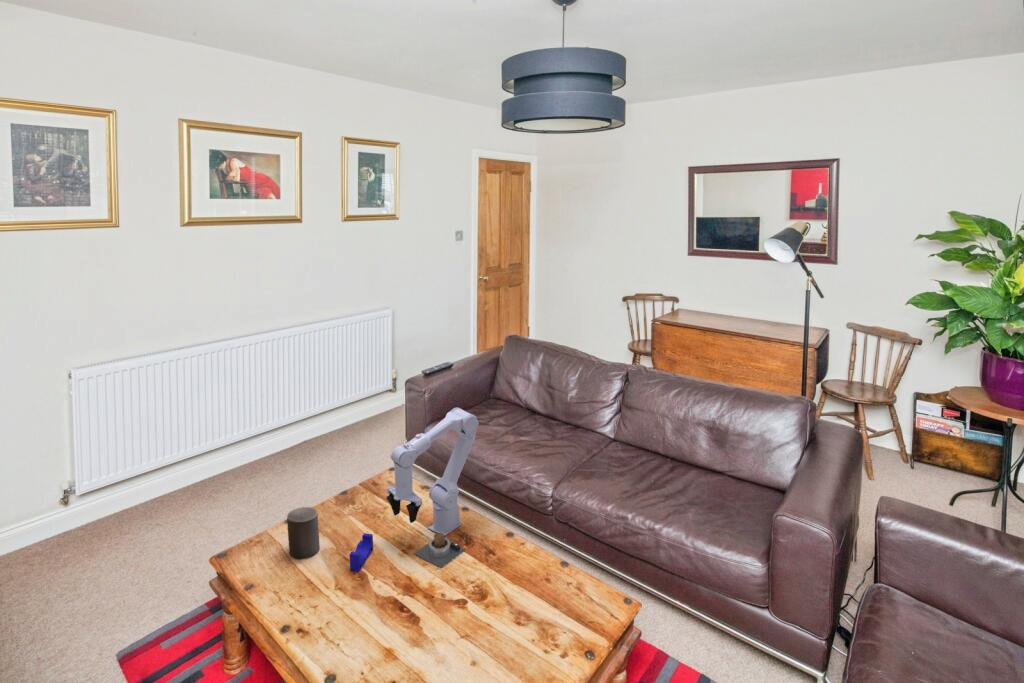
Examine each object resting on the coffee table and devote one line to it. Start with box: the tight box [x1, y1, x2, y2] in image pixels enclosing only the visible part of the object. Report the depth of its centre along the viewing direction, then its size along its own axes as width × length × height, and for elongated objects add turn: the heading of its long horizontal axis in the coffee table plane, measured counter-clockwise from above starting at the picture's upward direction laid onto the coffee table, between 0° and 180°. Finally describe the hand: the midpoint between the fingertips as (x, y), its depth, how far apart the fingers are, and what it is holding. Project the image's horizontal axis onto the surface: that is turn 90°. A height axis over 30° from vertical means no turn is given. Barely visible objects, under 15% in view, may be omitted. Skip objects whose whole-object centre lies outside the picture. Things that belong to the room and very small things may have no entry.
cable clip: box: [349, 532, 374, 572], centre depth 193 cm, size 12×4×6 cm, turn 172°
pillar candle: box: [286, 506, 321, 560], centre depth 196 cm, size 10×10×15 cm
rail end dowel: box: [433, 532, 446, 548], centre depth 197 cm, size 4×4×6 cm
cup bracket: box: [413, 537, 466, 569], centre depth 197 cm, size 12×12×4 cm
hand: (404, 517), depth 200 cm, fingers open, 7 cm apart
